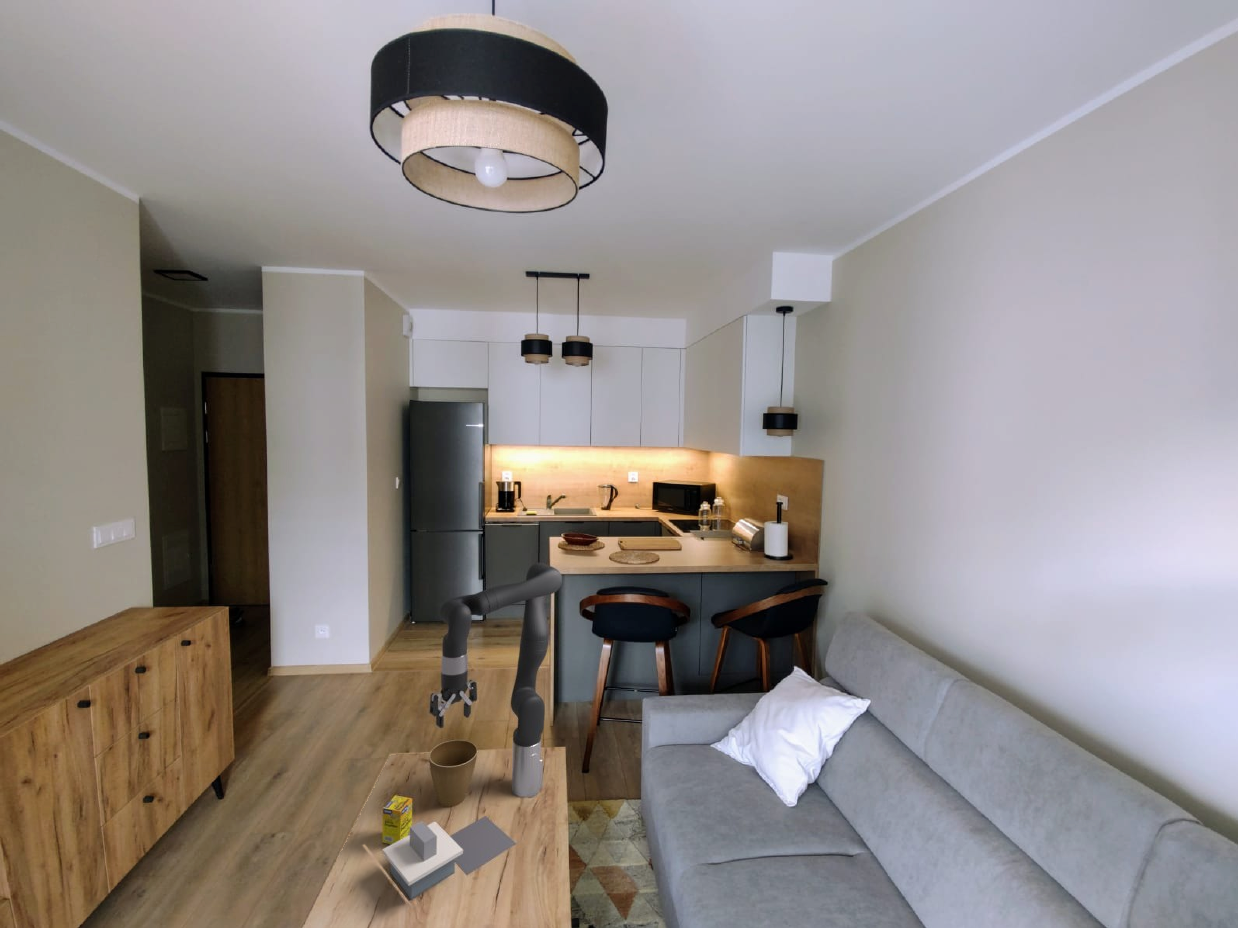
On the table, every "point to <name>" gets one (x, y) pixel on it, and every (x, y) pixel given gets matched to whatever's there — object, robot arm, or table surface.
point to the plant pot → (452, 770)
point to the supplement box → (396, 819)
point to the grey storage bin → (424, 879)
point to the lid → (422, 851)
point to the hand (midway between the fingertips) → (453, 721)
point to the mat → (480, 844)
